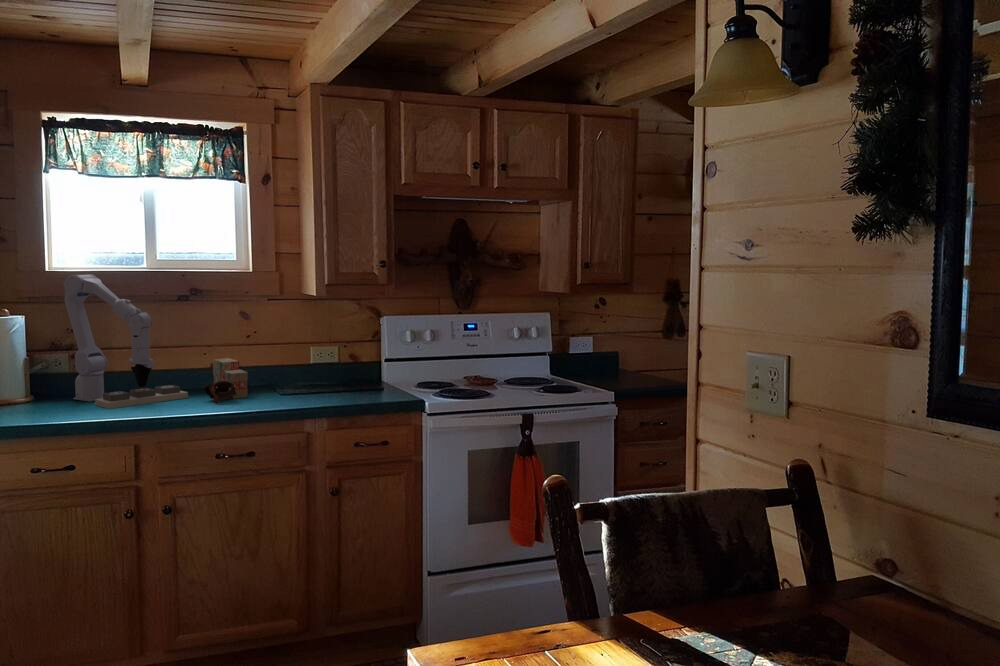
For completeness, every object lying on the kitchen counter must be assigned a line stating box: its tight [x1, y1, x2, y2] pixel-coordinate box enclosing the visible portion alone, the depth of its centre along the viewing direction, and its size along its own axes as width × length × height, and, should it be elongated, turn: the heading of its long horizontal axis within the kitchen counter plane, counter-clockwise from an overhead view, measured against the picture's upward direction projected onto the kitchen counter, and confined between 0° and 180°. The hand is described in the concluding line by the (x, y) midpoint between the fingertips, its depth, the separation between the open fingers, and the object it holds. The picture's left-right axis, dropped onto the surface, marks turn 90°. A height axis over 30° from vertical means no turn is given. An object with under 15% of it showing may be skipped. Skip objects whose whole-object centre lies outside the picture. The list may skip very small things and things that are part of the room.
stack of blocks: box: [212, 357, 249, 399], centre depth 294 cm, size 21×6×12 cm, turn 36°
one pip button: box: [161, 385, 174, 389], centre depth 285 cm, size 4×4×2 cm
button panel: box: [94, 384, 189, 410], centre depth 278 cm, size 28×10×4 cm, turn 139°
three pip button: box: [136, 388, 149, 392], centre depth 278 cm, size 4×4×2 cm
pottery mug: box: [203, 381, 236, 405], centre depth 279 cm, size 12×10×8 cm
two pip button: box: [108, 391, 124, 395], centre depth 271 cm, size 4×4×2 cm
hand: (142, 386), depth 278 cm, fingers closed
